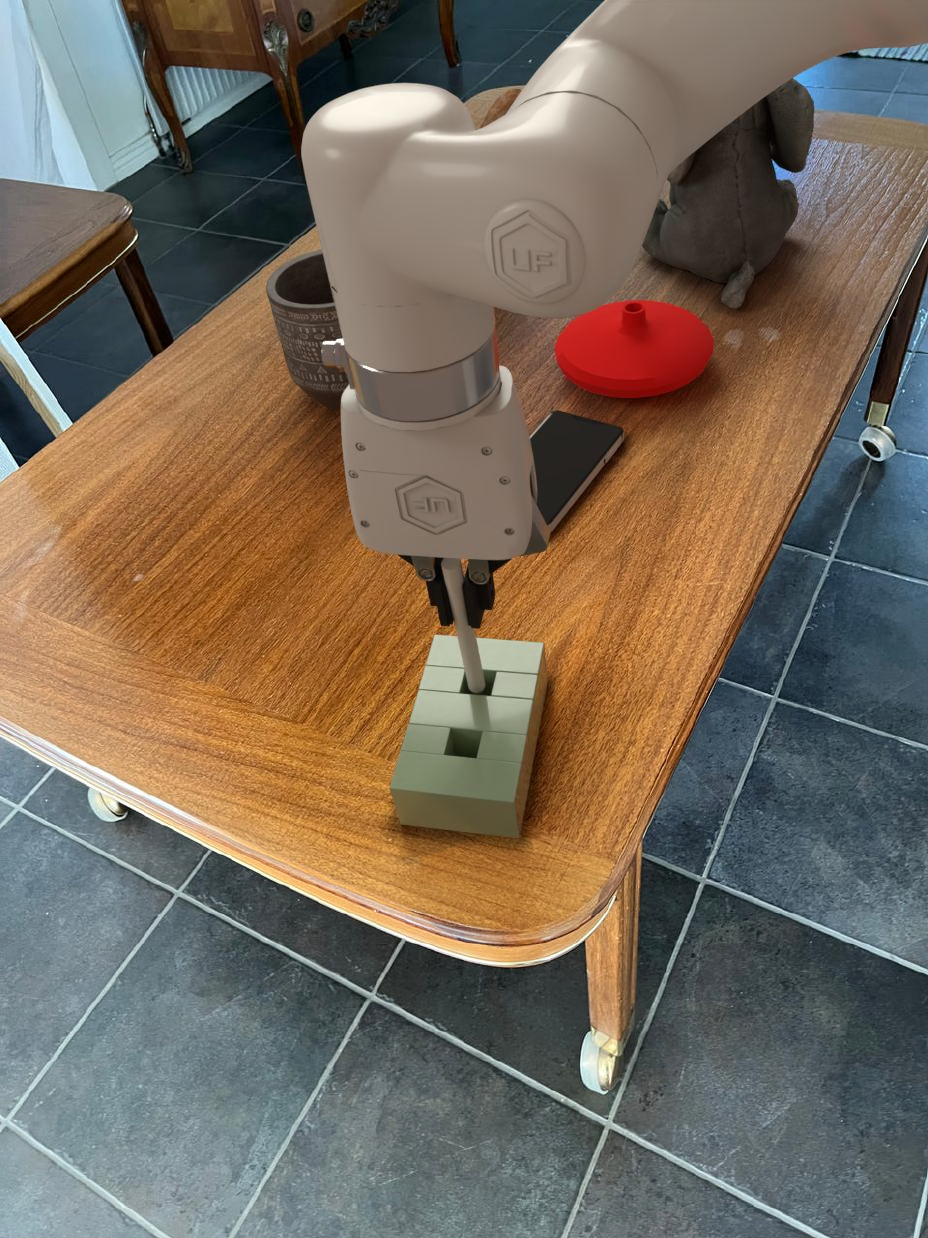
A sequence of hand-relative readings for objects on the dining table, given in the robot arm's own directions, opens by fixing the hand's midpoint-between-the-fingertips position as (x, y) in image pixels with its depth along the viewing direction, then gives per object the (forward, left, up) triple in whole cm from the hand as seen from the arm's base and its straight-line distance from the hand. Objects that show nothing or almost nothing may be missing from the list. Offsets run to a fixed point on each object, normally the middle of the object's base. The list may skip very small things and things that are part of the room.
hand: (464, 610), depth 62 cm
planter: (+22, -41, -12) cm, 48 cm away
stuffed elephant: (-15, -69, -12) cm, 72 cm away
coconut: (+14, -94, -12) cm, 96 cm away
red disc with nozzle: (-7, -45, -12) cm, 47 cm away
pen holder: (0, +3, -12) cm, 12 cm away
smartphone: (-1, -28, -12) cm, 31 cm away
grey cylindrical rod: (0, 0, -9) cm, 9 cm away
